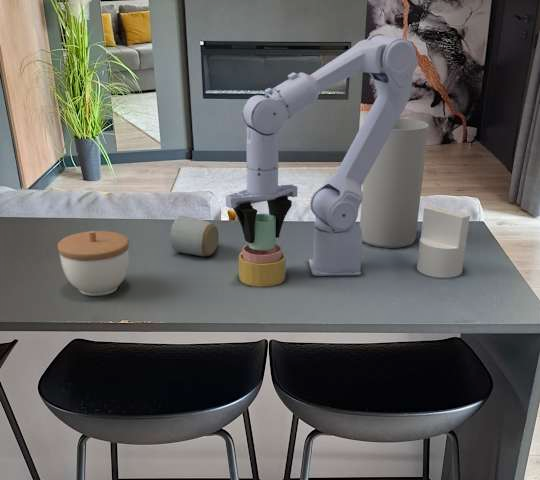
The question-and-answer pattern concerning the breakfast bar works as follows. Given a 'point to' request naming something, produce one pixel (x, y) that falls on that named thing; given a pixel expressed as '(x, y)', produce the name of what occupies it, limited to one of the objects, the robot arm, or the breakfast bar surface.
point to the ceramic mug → (193, 236)
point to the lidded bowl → (95, 261)
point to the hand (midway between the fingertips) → (262, 238)
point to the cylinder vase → (395, 187)
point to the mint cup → (264, 232)
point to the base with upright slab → (442, 242)
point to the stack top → (262, 255)
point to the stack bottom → (262, 272)
